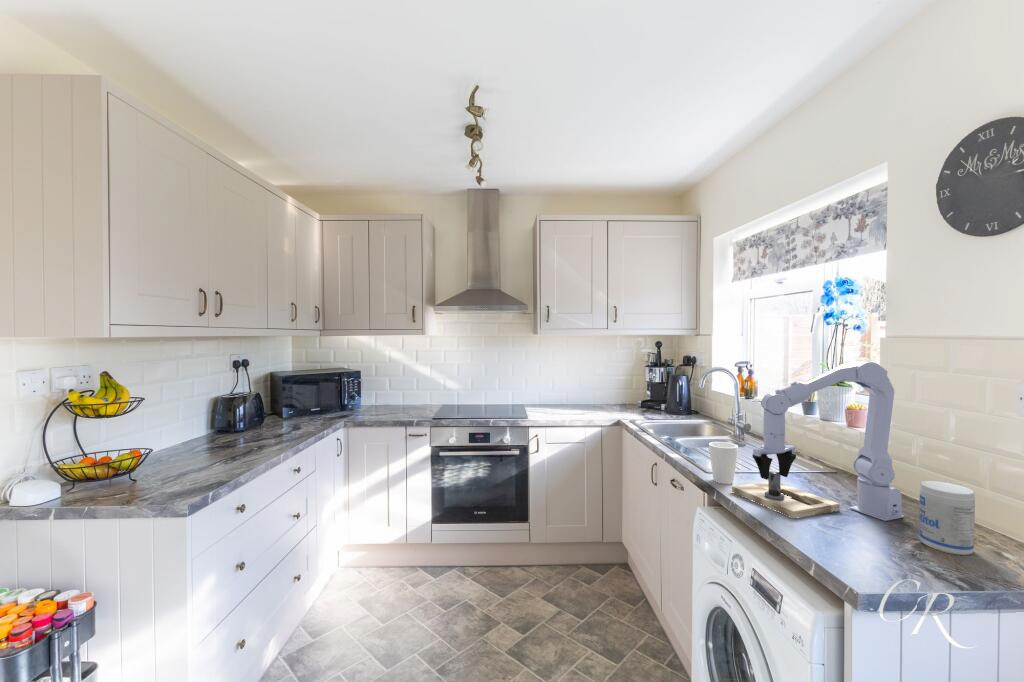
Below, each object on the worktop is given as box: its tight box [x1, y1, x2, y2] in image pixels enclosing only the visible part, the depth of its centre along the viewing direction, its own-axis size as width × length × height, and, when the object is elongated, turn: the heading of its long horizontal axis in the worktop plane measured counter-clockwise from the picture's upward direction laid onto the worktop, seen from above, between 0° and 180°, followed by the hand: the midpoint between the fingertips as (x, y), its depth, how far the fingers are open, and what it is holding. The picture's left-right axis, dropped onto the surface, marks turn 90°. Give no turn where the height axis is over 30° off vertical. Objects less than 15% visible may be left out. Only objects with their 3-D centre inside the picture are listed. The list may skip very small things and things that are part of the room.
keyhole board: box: [731, 480, 840, 519], centre depth 136 cm, size 22×18×2 cm
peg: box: [765, 470, 784, 500], centre depth 134 cm, size 5×5×8 cm
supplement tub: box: [918, 480, 976, 556], centre depth 106 cm, size 10×10×15 cm
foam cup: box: [708, 441, 739, 485], centre depth 155 cm, size 10×9×13 cm
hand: (774, 477), depth 134 cm, fingers open, 7 cm apart
